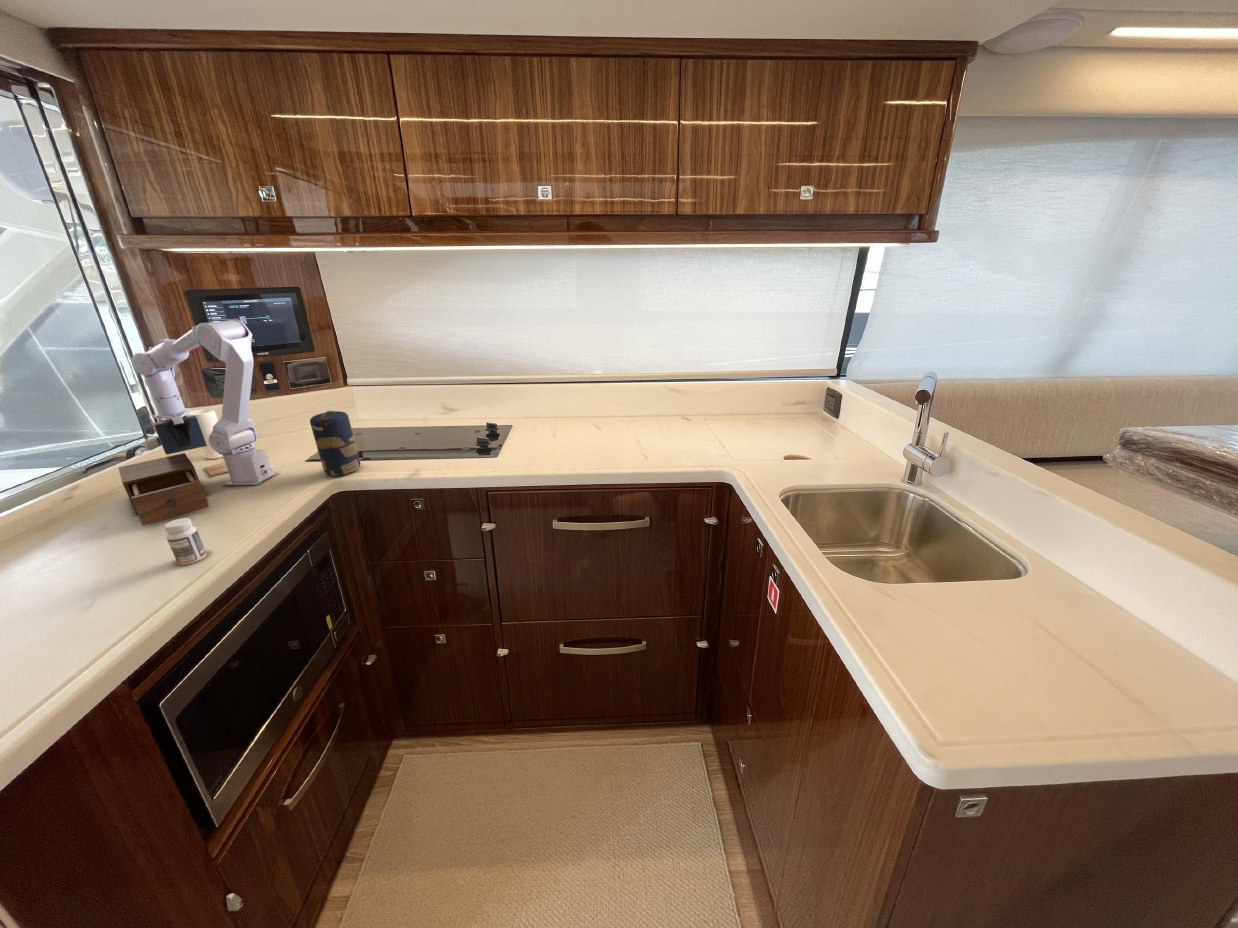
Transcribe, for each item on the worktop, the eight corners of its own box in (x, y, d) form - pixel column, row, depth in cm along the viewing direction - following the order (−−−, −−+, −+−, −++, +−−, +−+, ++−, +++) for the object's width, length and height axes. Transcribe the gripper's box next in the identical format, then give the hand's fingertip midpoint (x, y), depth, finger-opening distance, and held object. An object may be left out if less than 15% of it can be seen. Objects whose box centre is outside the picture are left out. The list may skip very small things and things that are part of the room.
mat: (251, 466, 151) (251, 465, 151) (211, 476, 144) (210, 475, 144) (244, 459, 157) (244, 458, 157) (205, 468, 151) (204, 467, 151)
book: (207, 446, 142) (196, 417, 139) (166, 454, 136) (154, 425, 133) (205, 443, 144) (194, 415, 141) (164, 452, 138) (152, 423, 135)
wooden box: (205, 496, 131) (193, 465, 128) (136, 514, 122) (122, 482, 119) (195, 481, 141) (184, 452, 138) (131, 497, 132) (118, 467, 129)
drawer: (210, 507, 122) (200, 482, 119) (143, 526, 114) (131, 499, 111) (199, 491, 132) (190, 467, 130) (137, 507, 124) (126, 482, 122)
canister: (369, 467, 146) (354, 407, 140) (342, 479, 138) (326, 416, 131) (344, 464, 149) (328, 405, 143) (316, 476, 141) (299, 414, 134)
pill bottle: (196, 551, 104) (182, 515, 101) (212, 554, 103) (198, 518, 100) (171, 563, 100) (155, 526, 97) (187, 566, 99) (172, 529, 95)
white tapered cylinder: (216, 460, 157) (199, 414, 152) (198, 460, 158) (181, 414, 153) (235, 453, 163) (219, 408, 158) (218, 452, 165) (202, 408, 159)
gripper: (144, 396, 137) (162, 443, 142) (150, 403, 127) (170, 453, 132) (176, 391, 141) (193, 436, 146) (185, 398, 132) (203, 446, 137)
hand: (184, 444), depth 140 cm, fingers closed on book, 3 cm apart
